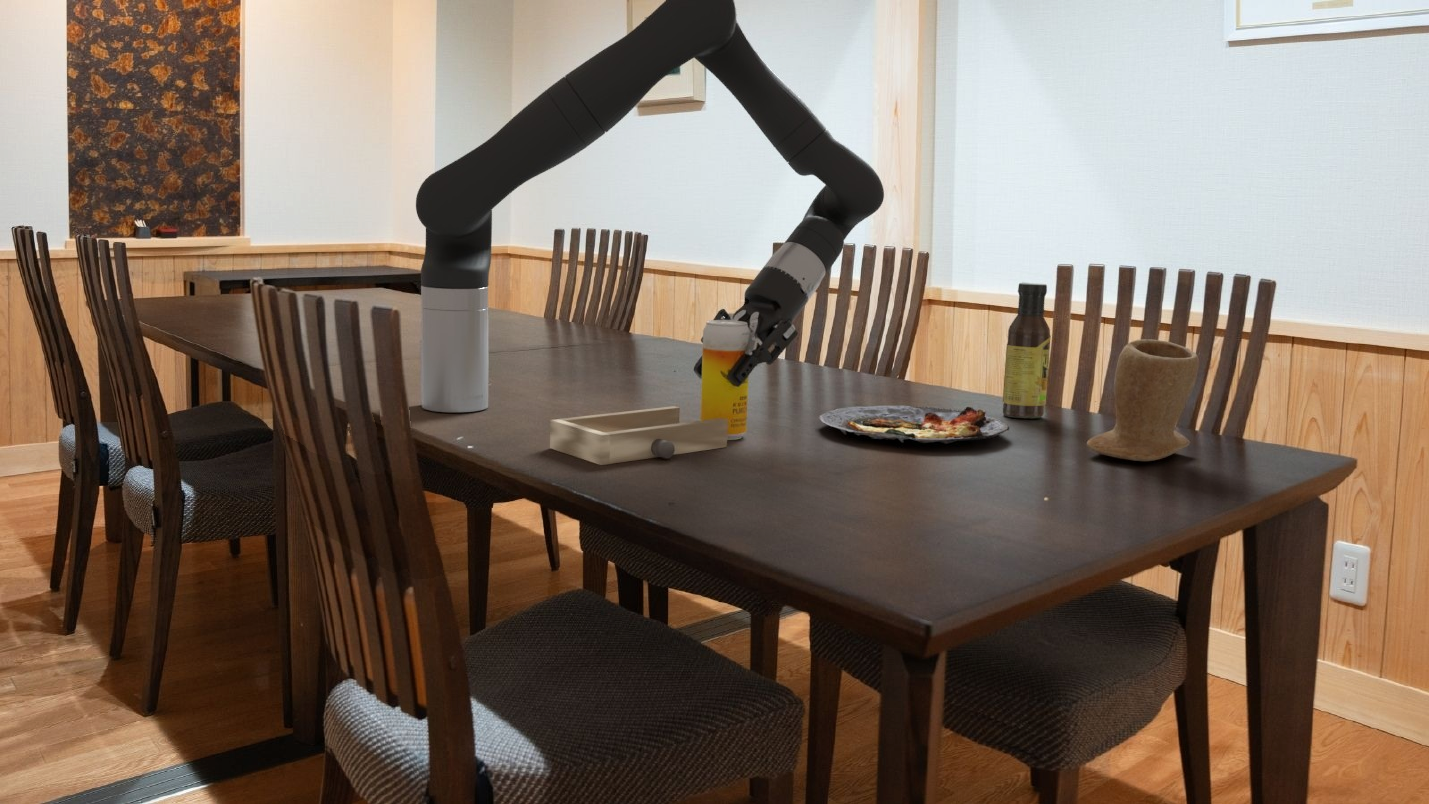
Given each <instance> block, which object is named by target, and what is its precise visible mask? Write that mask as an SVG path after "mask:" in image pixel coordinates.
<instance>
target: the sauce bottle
mask: <svg viewBox="0 0 1429 804" xmlns="http://www.w3.org/2000/svg"><path fill="white" fill-rule="evenodd" d="M1017 288H1018V289H1017V293H1018V295H1019V296H1018V307H1017V310H1016V311H1017V315H1015V316H1016V317H1015V318H1014V319H1013V321H1012V322H1011V323H1010V325H1009V328H1008V331H1007V332H1008V333H1007V343H1006V349H1005V351H1006V352H1005V365H1004V377H1003V390H1002V402H1003V403H1002V404H1003V407H1002V415H1003V416H1005V417H1008V418H1014V419H1015V418H1016V419H1039V418H1042V417H1043V416H1044V414H1045V405H1046V404H1047V392H1048V379H1049V368H1050V367H1049V365H1050V349H1051V348H1050V347H1051V339H1052V337H1051V336H1052V335H1051V329H1050V327H1049V324H1048V323H1047V321H1046V319H1045V316H1044V315H1045V314H1044V313H1045V299H1046V295H1047V293H1048V285H1047V284H1046V283H1045V284H1044V283H1034V282H1024V281H1023V282H1022V281H1021V282H1019V283H1018V287H1017Z"/></svg>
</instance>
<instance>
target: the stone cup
mask: <svg viewBox="0 0 1429 804" xmlns="http://www.w3.org/2000/svg"><path fill="white" fill-rule="evenodd" d="M1199 367H1200V359H1199V355H1198V354H1197V353H1196V352H1195V351H1193V350H1191V349H1190V348H1188V347H1185V346H1183V345H1181V344H1177V343H1173V342H1171V341H1165V340H1159V339H1135V340H1133V341H1129V343H1127V344H1126V345H1124V347H1123V348H1122V351H1121V352H1120V353H1119V356H1118V359H1117V363H1116V367H1115V368H1116V369H1115V373H1114V380H1113V381H1114V383H1113V395H1114V401H1115V412H1116V413H1115V415H1116V416H1115V418H1116V420H1115V425H1114V427H1113V429H1110V430H1108V431H1105V432H1102V433H1100V434H1098V435H1095V436H1093V437H1091V438H1089V439H1088V440H1087V442H1086V447H1087V448H1088V449H1089V450H1091V451H1092V452H1095V453H1098V454H1099V455H1104V456H1107V457H1111V458H1116V459H1121V460H1127V461H1128V460H1129V461H1137V462H1152V461H1156V460H1161V459H1165V458H1167V457H1169V456H1172V455H1173V454H1175V453H1177V452H1179V451H1181V450H1183V449H1185V448H1187V447H1188V446H1189V445H1190V444H1191V442H1190V440H1189V439H1188V438H1187V437H1185V435H1183V434H1181V433H1179V432H1178V431H1177V430H1175V428H1176V425H1177V423H1178V420H1179V419H1180V416H1181V414H1182V412H1183V410H1184V408H1185V407H1186V404H1187V401H1188V400H1189V398H1190V396H1191V394H1192V392H1193V391H1194V388H1195V385H1196V382H1197V378H1198V371H1199Z"/></svg>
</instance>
